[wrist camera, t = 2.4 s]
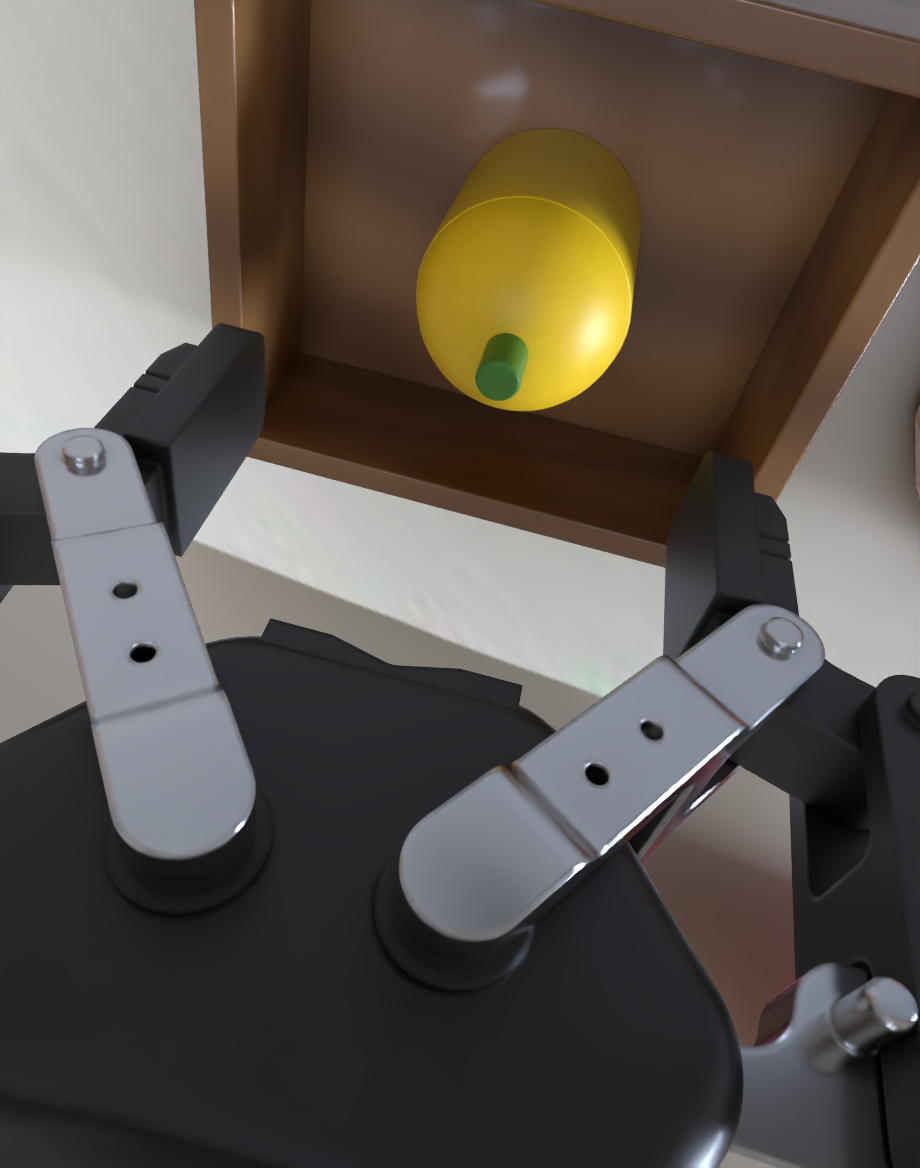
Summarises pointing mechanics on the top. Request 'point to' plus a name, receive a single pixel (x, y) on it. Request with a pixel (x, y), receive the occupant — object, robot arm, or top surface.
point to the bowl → (917, 450)
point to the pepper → (532, 272)
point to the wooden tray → (666, 250)
